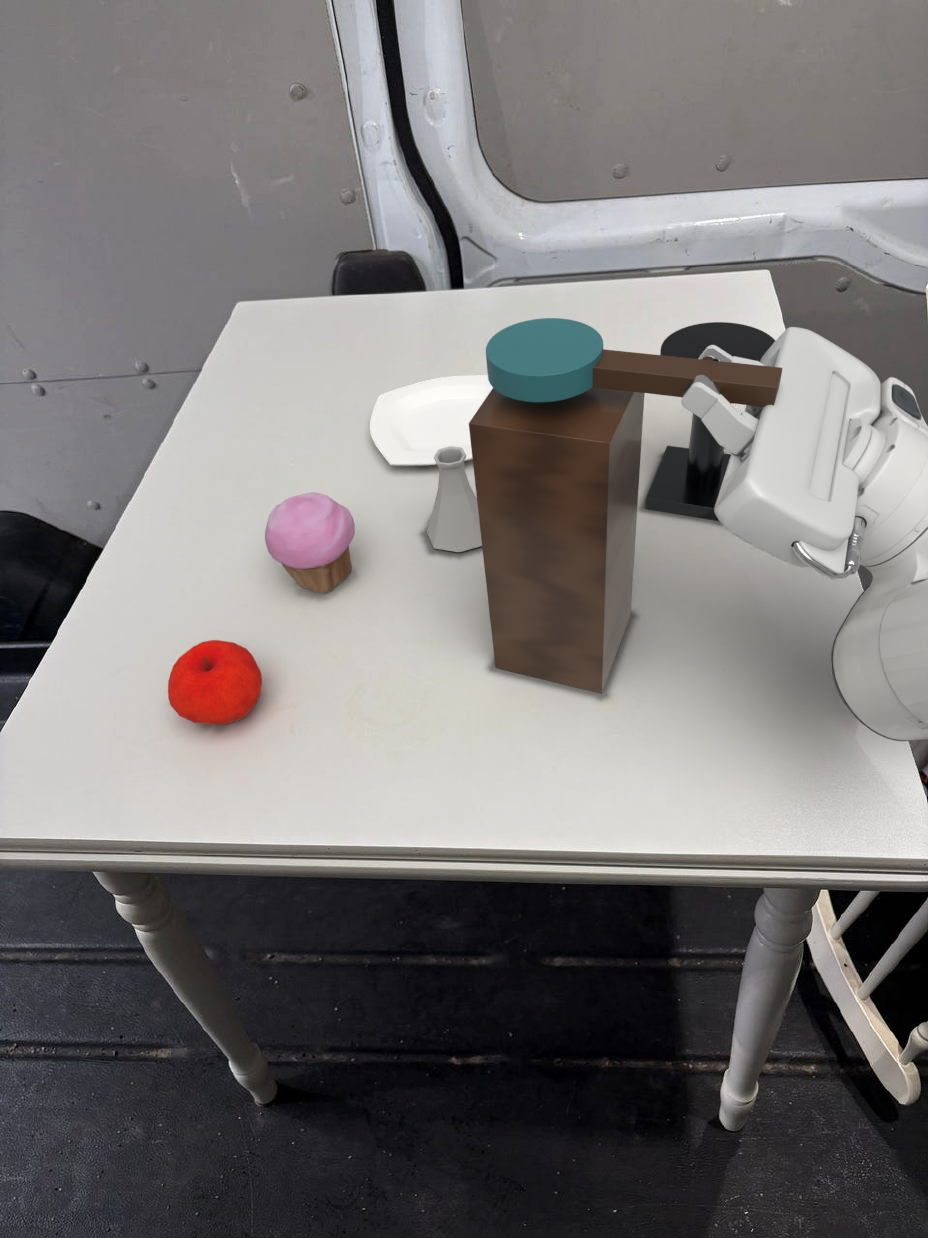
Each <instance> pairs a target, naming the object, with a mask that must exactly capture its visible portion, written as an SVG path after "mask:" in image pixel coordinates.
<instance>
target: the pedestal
mask: <svg viewBox="0 0 928 1238" xmlns="http://www.w3.org/2000/svg"><path fill="white" fill-rule="evenodd" d="M645 394H646V393H641V392H632V391H624V390H615V389H607V388H598V387H592V388H590V389H589V390H587V391H586V392H584V393H582V394H580V395H577V396H574V397H572V398H568V399H564V400H559V401H553V402H526V401H520V400H516V399H512V398H509V397H506V396H504V395H502V394H500V393H499V392H497V391H496V390H495V389H494V388H493V389H492V390H491V392H490V393H489V394H488V396H487V397H486V399H485V400H484V402H483V403H482V405H481V406H480V408H479V409H478V411H477V412H476V413H475V415H474V416H473V418H472V419H471V421H470V422H469V431H470V440H471V449H472V458H473V459H472V466H473V475H474V484H475V486H474V487H475V493H476V495H475V496H476V498H477V504H478V513H479V522H480V531H481V540H482V546H481V549H482V557H483V567H484V575H485V585H486V593H487V603H488V611H489V621H490V629H491V631H490V632H491V638H492V639H491V640H492V648H493V649H492V650H493V657H494V658H493V659H494V667H495V669H498V670H503V671H506V672H511V673H515V674H518V675H519V674H520V675H522V676H528V677H532V678H536V679H539V680H545V681H548V682H553V683H557V684H560V685H565V686H569V687H572V688H578V689H580V690H586V691H590V692H594V693H598V694H603V692H604V689H605V686H606V684H607V682H608V678H609V675H610V674H611V670H612V668H613V664H614V662H615V660H616V656H617V653H618V651H619V648H620V646H621V643H622V640H623V637H624V635H625V633H626V630H627V626H628V624H629V621H630V618H631V616H632V615H631V614H632V598H633V586H634V585H633V583H634V568H635V567H634V566H635V551H636V538H637V537H636V535H637V522H638V521H637V520H638V519H637V518H638V503H639V489H640V472H641V457H642V456H641V455H642V441H643V439H642V437H643V426H644V425H643V424H644V407H645Z"/></svg>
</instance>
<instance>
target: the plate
mask: <svg viewBox="0 0 928 1238" xmlns="http://www.w3.org/2000/svg"><path fill="white" fill-rule="evenodd" d="M492 389H493V387H492V386H491V384H490V382H489V380H488V374H468V375H467V374H466V375H465V374H464V375H452V376H451V375H450V376H442V377H435V378H432V379H427V380H422V381H419V382H415V383H412V384H408V385H405V386H404V385H403V386H402V387H399V388H395V389H392V390H390V391H387V392H383V393H381V394H379V395H378V398H377V399H376V402H375V404H374V406H373V409H372V412H371V415H370V420H369V433H370V437H371V439H372V441H373V443H374V445H375V447H376V448H377V450H378V451H379V452H380V453H381V456H383V458H384V459H385V460H386V462H387V463H388V464H389V465H390V466H435V465H437V463H436V461H435V459H434V456H435V454H436V453H437V451H438V449H442V448H446V447H449V446H453V447H461V448H463V450H464V452H465V454H466V459H465V461H471V460H473V458H472V449H471V440H470V431H469V422H470V421H471V419H472V418H473V416H474V415H475V413H476V412H477V411H478V409H479V408H480V406H481V405H482V403H483V402H484V400H485V399H486V397H487V396H488V394H489V393H490V392H491V390H492ZM465 461H464V462H465ZM437 466H438V465H437Z"/></svg>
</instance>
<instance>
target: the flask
mask: <svg viewBox="0 0 928 1238" xmlns="http://www.w3.org/2000/svg"><path fill="white" fill-rule="evenodd" d="M434 459H435V461H436V463H437V468H438V486H437V491H436V494H435V499H434V504H433V508H432V512H431V515H430V518H429V521H428V525H427V529H426V534H427V536H428V539H429V541H430V544H431V545H432V547H433V549H435V550H441V551H449V552H454V553H462V552H465V551H469V550H473V549H476V548H479V547H482V540H481V531H480V522H479V513H478V504H477V495H475V492H474V490H473V488H472V486H471V484H470V481H469V479H468V476H467V472H466V467H465V459H466V454H465V452H464V450H463V448H461V447H453V446H449V447H446V448H442V449H438V451H437V453H436V454H435V456H434Z"/></svg>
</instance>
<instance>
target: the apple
mask: <svg viewBox="0 0 928 1238" xmlns="http://www.w3.org/2000/svg"><path fill="white" fill-rule="evenodd" d="M262 679H263V678H262V671H261V669H260V667H259V665H258V664H257V661H256V660H255V657H254V656H253V654H252V653H251V652H250V650H248V648H246V647H245V646H242V645H240V644H237V643H236V642H234V641H233V642H232V641H226V640H219V639H212V640H207V641H206V640H205V641H202V642H199V643H197V644H196V645H193V646H192V647H190V649H188V650H187V651H185V652H184V653H182V655H180V656H179V657H178V658H177V660H176V662H175V663H174V664H173V665H172V668H171V671H170V673H169V678H168V683H167V699H168V701H169V705H170V706H171V708H172V709H173V711H175V713H176V714H177V715H178V716H179V717H182V718H183V719H186V720H187V721H190V722H192V723H193V724H202V725H203V724H205V725H216V726H217V725H226V724H232V723H234V722H237V721H240V720H242V719H243V718H244V717H246V716H247V715H248V714H249V713H250V712H251V711H252V710H253V708H254V707H255V706H256V704H257V703H258V700H259V698H260V696H261V692H262V691H261V690H262V683H263V681H262Z"/></svg>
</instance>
